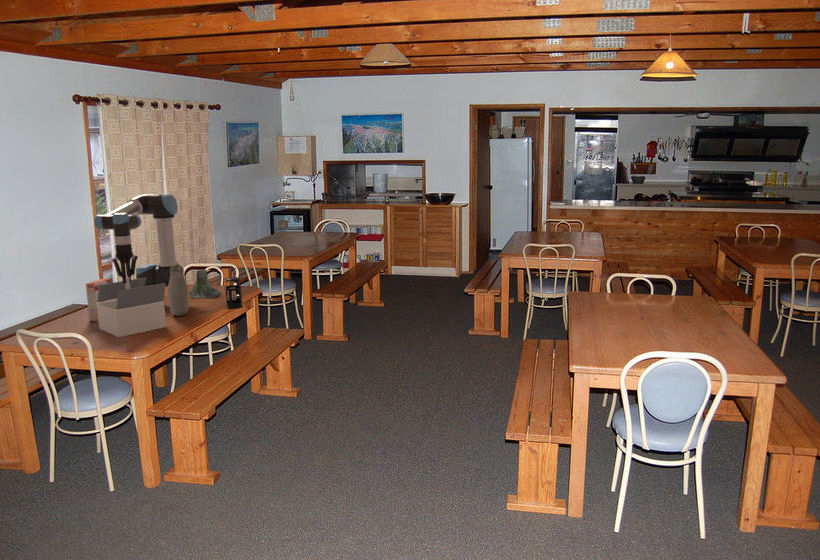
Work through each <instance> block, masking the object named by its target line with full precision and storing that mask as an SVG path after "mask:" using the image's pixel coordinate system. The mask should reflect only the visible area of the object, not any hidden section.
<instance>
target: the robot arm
mask: <svg viewBox="0 0 820 560" xmlns="http://www.w3.org/2000/svg"><path fill="white" fill-rule="evenodd" d="M178 207H179V205H178V202H177V199H176V198H175V196H174V195H172V193H171V194H170V193H145V194H141V195H140V194H139V195H138V196H135V197H133V198H131V199H129V200H127V202H126V203H125V204H124V205H122V206H119V207H117V208H115V209H114V210H112V211H110V212H108V213H106V214H97V215H95V217H94V219H93V222H94V223H93V224H94V226H95V228H96V229H97V230H102V231H104V230H105V231H106V230H108V231H109V230H113V233H114V244H115V252H116V253H115V257H113V258H111V262H112V263H113V264H114V268H115V270H116V273H117V275H118V277H120V278H122V281H123V283H124V284H125V289H130V283H131V280H132V276H134V275H135V277H136V278H135V279H140V278H146V281H145V286H150V285H156V284H162V283H166V284H165V288H166V287H167V288H168V285H169V281H170V267H172V266H175V265H179V266H180V263H179V262H178V261H177V259H176V258H177V257H176V249H175V239H174V228H173V227H174V226H173V219H174V218H175V215H176V214H177V213H178V210H179V208H178ZM140 215H152V218H153V220H155V221H156V232H157V241H158V250H159V260H160V261H159V262H158V264H157V263H150V264H149V263H147V264H144V265H140V266H138V267H136V265H137V260H138V258H139V257H138V256H137V255H135V254H134V253H133V247H132V244H131V243H132V238H131V231H132V230H136V229H138V228H139V227H140V226H141V225H142V218H141V217H140ZM118 261H119V262H118Z"/></svg>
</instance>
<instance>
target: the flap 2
mask: <svg viewBox="0 0 820 560" xmlns="http://www.w3.org/2000/svg"><path fill="white" fill-rule="evenodd" d="M165 284H166V283H162V284H156V285H150V286H144V287H138V288H132V289H126V290H120V291H118V297H117V299H116V300H117V307H116V309H117V310H119V309H124V308H129V307H135V306H140V305H145V304H151V303H156V302H161V301H163V302H164V299H165V298H164V297H165V290H166V287H165Z"/></svg>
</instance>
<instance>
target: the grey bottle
mask: <svg viewBox="0 0 820 560" xmlns="http://www.w3.org/2000/svg"><path fill="white" fill-rule="evenodd" d="M184 272H185V270H184V267H183V266H181V265H180V264H179V265H175V266H172V267H170V281H169V285H168V287H167V293H168V302H169V303H168V305H169V311H170V313H171V315H173V316H176V317H180V316H181V317H182V316H185V315H186V314H187V313H188V311H189V291H188V283H187V281H186V278H185V273H184Z"/></svg>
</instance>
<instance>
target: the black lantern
mask: <svg viewBox="0 0 820 560" xmlns="http://www.w3.org/2000/svg"><path fill="white" fill-rule="evenodd" d="M236 269H237V268H236V267H229V268H228V270H229V271H231V274H232V275H231V276H230V277H226V278H224V280H225V284H226V283H228V282H232V283H233V284H231V285H227V286H225V287H224V288H225V298H226V302H225V303H226V307H225V308H226V309H228V310H237V309H242V308H243V307H244V305H243V297H242V296H243V293H242V286H241V285H240V284H239V283H241V280H242V277H240V276H234V274H233V273H234V270H236ZM234 283H235V284H236V285H234Z"/></svg>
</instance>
